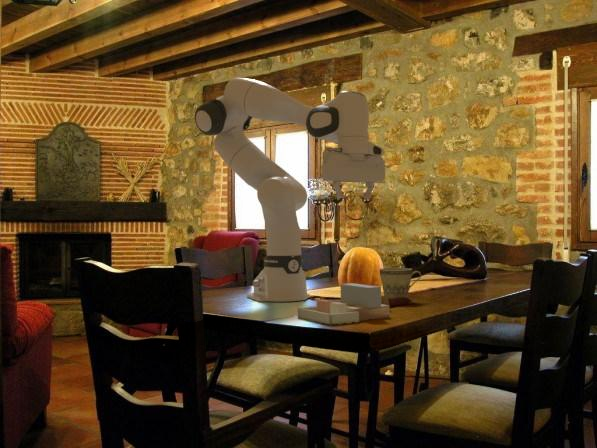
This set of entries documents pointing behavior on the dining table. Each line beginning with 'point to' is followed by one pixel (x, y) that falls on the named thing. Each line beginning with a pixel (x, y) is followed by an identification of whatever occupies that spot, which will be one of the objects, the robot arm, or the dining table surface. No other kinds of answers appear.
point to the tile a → (323, 306)
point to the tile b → (337, 308)
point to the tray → (327, 316)
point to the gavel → (395, 301)
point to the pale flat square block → (370, 311)
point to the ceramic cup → (396, 281)
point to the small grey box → (361, 295)
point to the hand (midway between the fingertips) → (353, 198)
